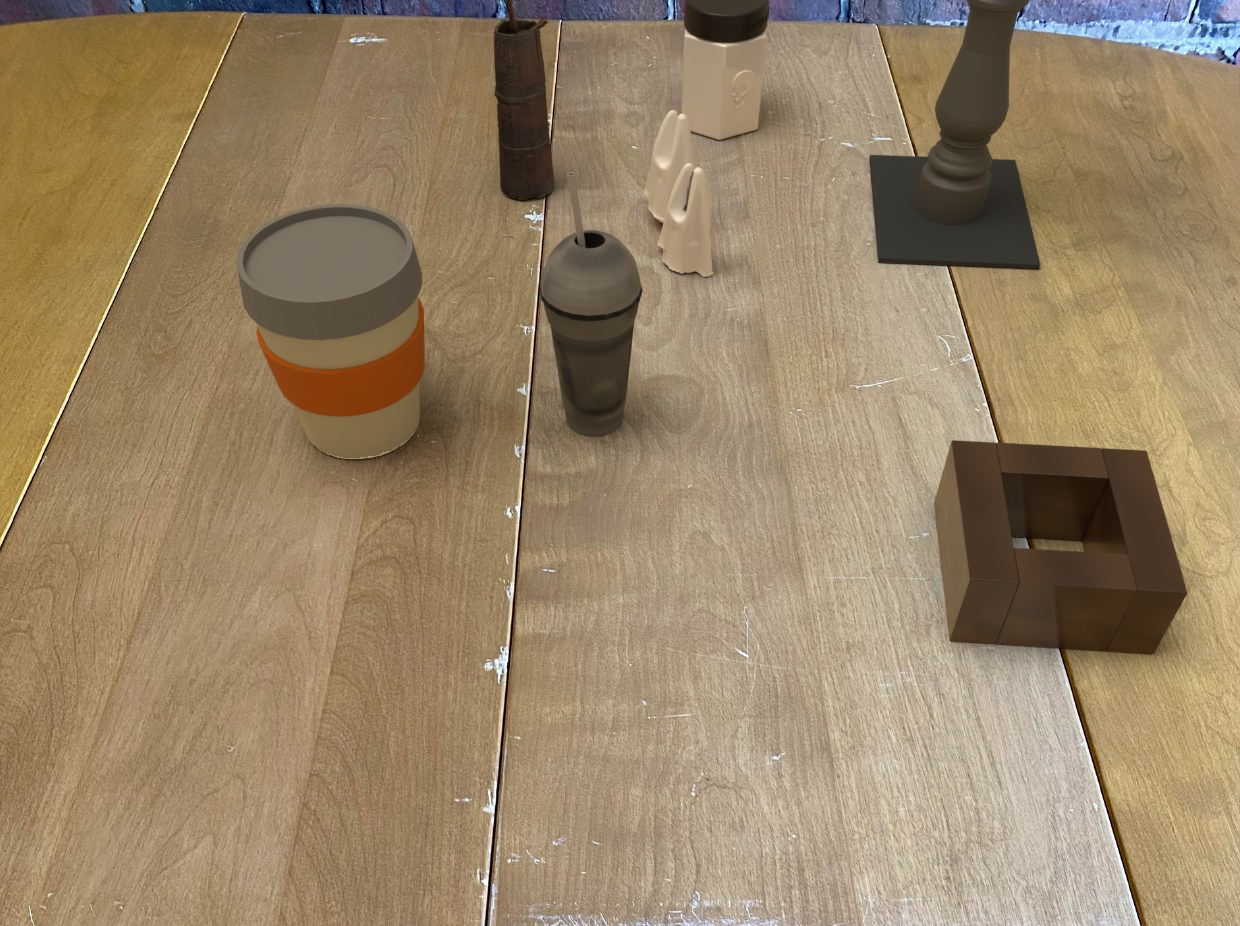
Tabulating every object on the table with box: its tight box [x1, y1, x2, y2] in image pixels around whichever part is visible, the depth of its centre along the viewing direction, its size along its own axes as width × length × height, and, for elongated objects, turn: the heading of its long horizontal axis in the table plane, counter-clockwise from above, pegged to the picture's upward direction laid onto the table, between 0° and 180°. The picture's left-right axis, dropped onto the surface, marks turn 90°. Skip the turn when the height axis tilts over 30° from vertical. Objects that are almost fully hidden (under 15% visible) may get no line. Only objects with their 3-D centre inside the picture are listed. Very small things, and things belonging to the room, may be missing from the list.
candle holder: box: [915, 0, 1030, 225], centre depth 99 cm, size 6×6×25 cm
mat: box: [868, 154, 1041, 270], centre depth 109 cm, size 14×18×1 cm
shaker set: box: [642, 109, 714, 278], centre depth 103 cm, size 12×4×11 cm, turn 10°
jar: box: [680, 0, 771, 141], centre depth 117 cm, size 9×8×12 cm
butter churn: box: [493, 0, 556, 201], centre depth 103 cm, size 9×10×28 cm
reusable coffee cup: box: [235, 203, 426, 458], centre depth 86 cm, size 13×13×15 cm
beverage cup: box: [539, 171, 643, 437], centre depth 84 cm, size 7×7×20 cm
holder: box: [933, 439, 1188, 655], centre depth 78 cm, size 13×13×6 cm
